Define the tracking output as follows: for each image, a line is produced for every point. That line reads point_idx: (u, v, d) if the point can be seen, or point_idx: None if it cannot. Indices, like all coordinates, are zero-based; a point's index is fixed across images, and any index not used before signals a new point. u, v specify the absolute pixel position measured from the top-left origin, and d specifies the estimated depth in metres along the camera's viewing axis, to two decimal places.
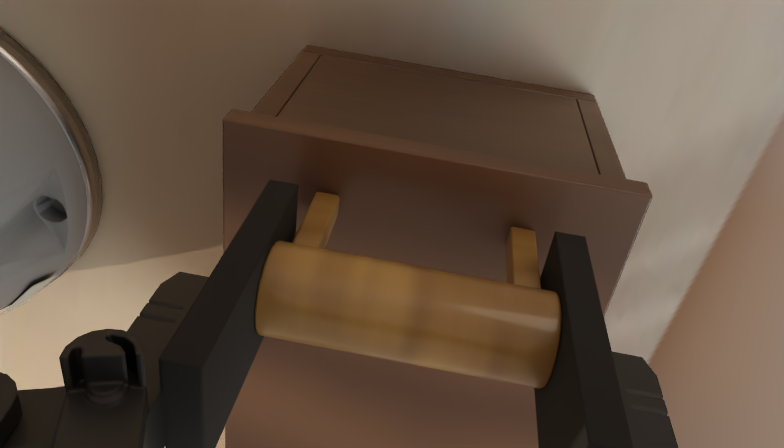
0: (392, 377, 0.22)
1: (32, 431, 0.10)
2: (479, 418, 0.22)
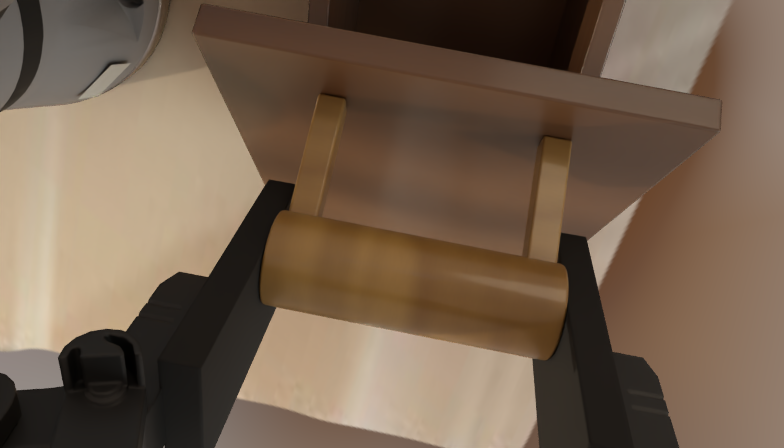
0: (423, 202, 0.22)
1: (31, 431, 0.10)
2: (509, 229, 0.23)
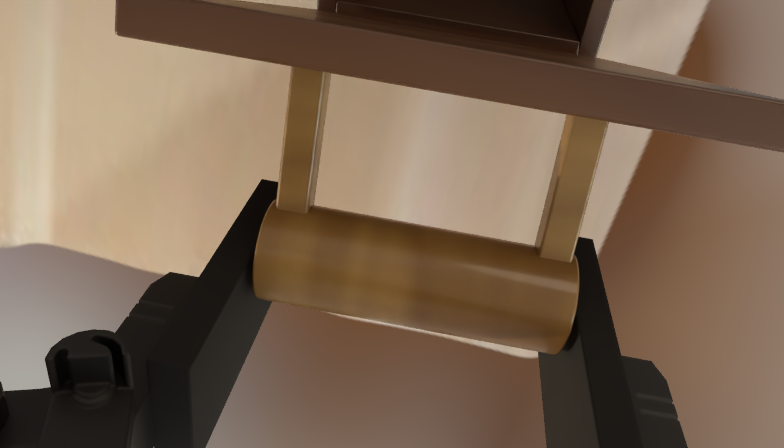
0: None
1: (18, 432, 0.10)
2: None
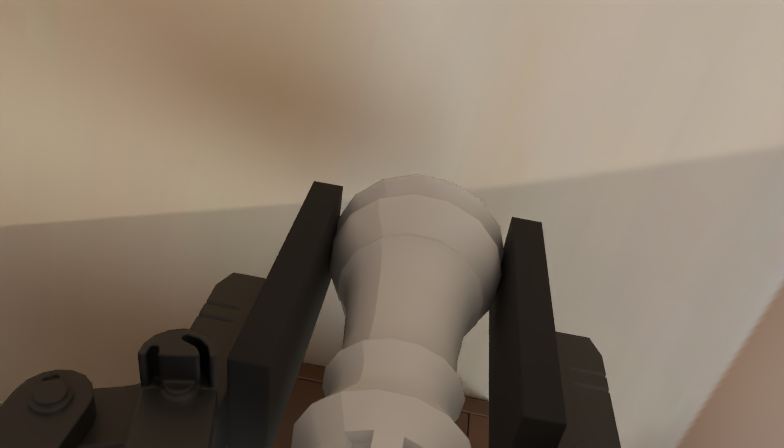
0: None
1: (108, 429, 0.10)
2: None
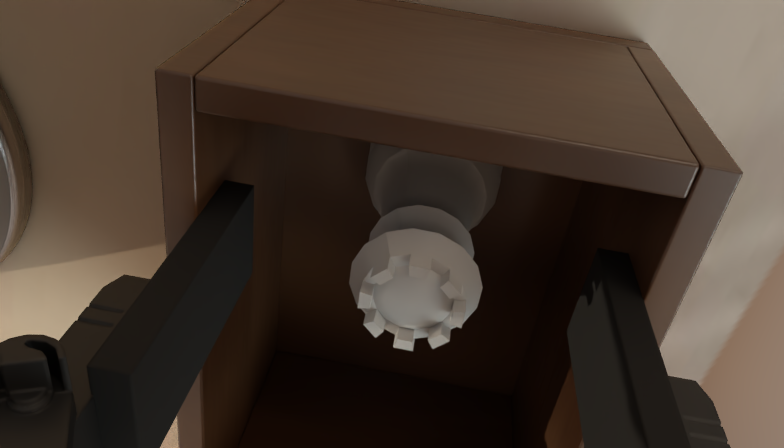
0: None
1: None
2: None
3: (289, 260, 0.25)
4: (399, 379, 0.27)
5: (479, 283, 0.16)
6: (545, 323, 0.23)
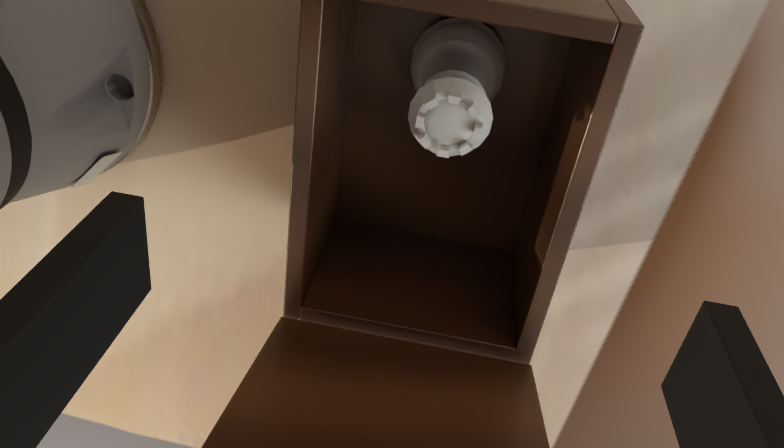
0: None
1: None
2: None
3: (350, 143, 0.34)
4: (428, 238, 0.36)
5: (491, 114, 0.25)
6: (536, 183, 0.32)
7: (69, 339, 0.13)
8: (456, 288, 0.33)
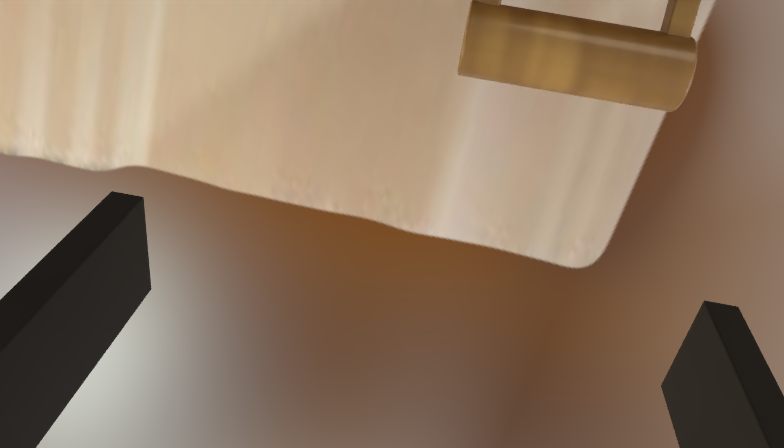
0: None
1: None
2: None
3: None
4: None
5: None
6: None
7: (69, 339, 0.13)
8: None
